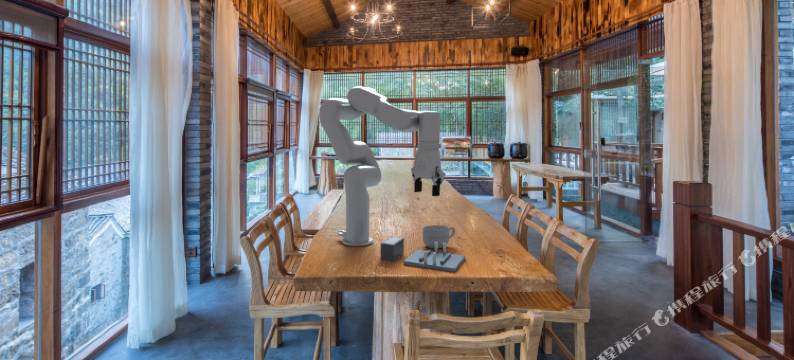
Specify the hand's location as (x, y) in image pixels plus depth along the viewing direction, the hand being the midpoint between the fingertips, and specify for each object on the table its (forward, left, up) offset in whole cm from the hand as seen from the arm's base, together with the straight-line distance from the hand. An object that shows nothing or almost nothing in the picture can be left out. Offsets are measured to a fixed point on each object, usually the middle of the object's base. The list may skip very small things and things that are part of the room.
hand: (426, 193), depth 148 cm
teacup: (+1, +15, -24) cm, 28 cm away
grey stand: (+5, -4, -23) cm, 24 cm away
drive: (-11, -5, -24) cm, 26 cm away
